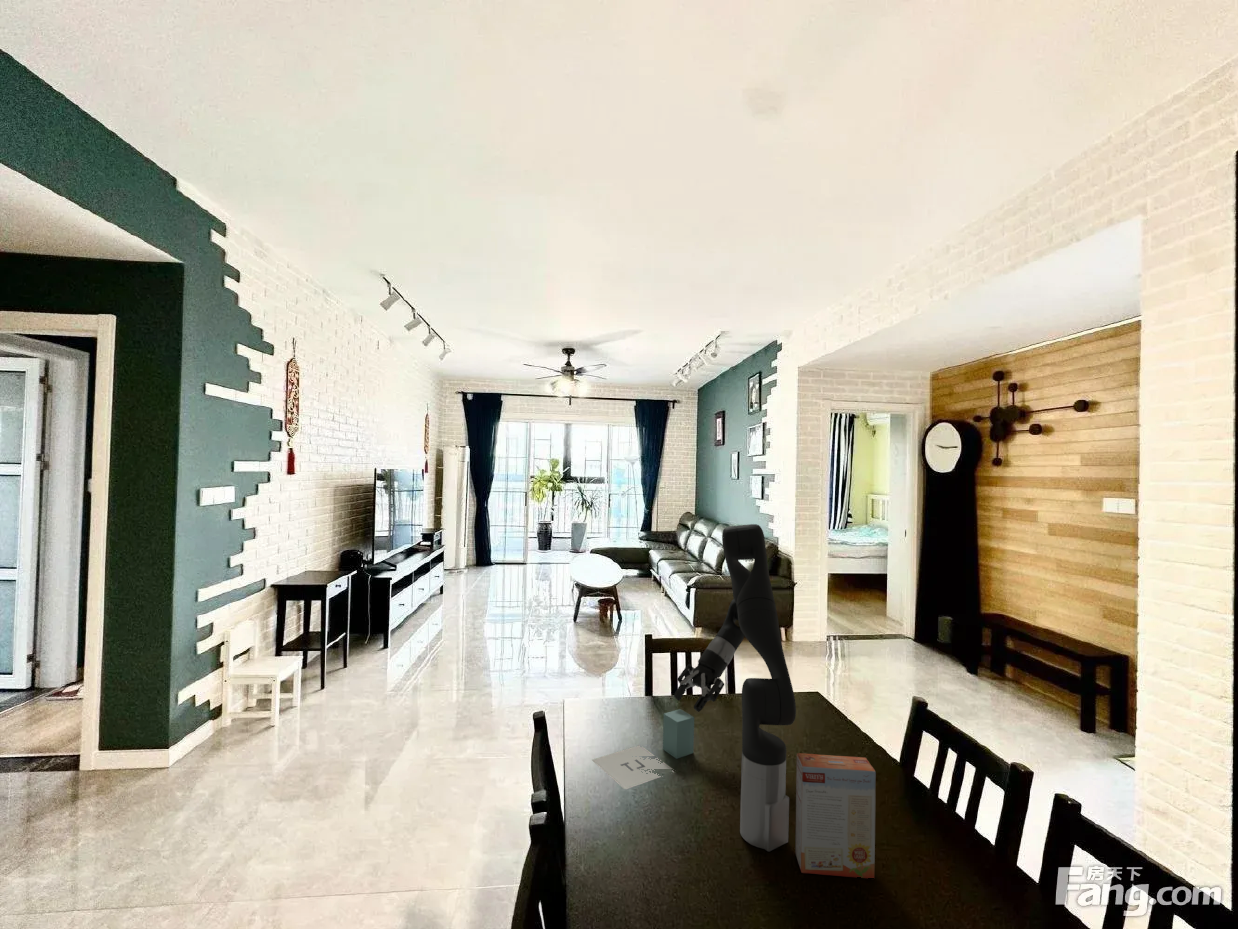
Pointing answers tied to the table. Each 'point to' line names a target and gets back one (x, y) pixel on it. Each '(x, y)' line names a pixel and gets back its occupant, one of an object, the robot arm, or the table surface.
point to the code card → (630, 766)
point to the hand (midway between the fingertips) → (685, 704)
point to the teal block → (678, 733)
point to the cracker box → (835, 815)
